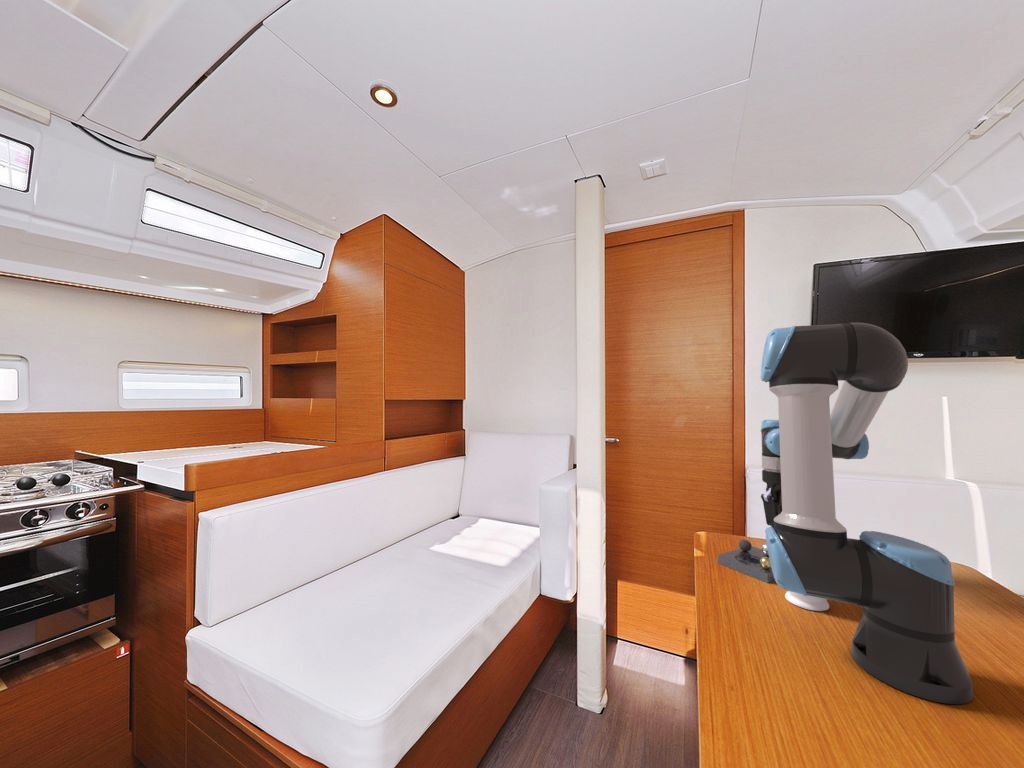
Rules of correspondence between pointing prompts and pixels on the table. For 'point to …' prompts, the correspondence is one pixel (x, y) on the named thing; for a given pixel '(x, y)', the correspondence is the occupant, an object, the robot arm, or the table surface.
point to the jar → (807, 601)
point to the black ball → (745, 545)
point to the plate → (747, 563)
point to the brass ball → (765, 562)
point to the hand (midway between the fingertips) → (778, 548)
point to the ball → (764, 549)
